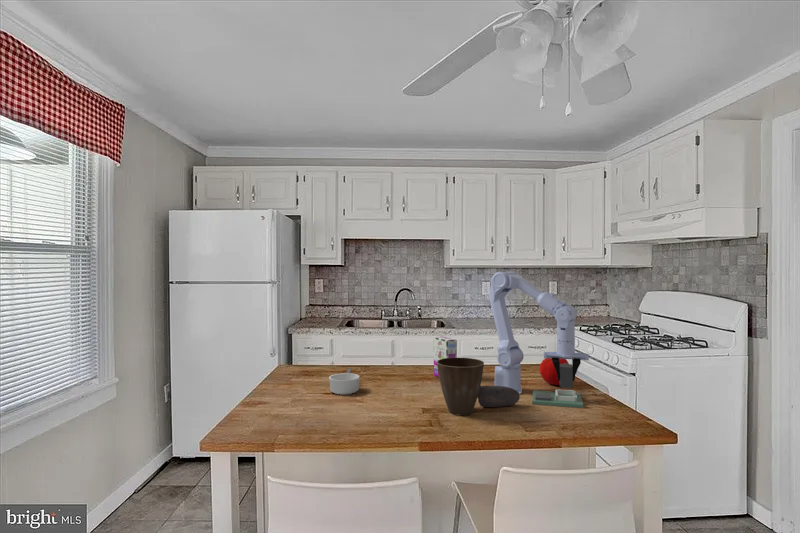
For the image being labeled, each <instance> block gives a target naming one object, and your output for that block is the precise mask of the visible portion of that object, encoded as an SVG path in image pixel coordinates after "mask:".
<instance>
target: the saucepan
mask: <svg viewBox="0 0 800 533" xmlns="http://www.w3.org/2000/svg"><path fill="white" fill-rule="evenodd" d="M352 369H353V368H352V367H349V368H348V369H347V371H346V372H344V373H335V374H331V375H330V376H328V379H329V390H330V392H332V393H334V394H335V395H339V394H340V395H341V396H342V395H343V396H344V395H345V396H346V395H352V393H353V394H354V393H356V392H358V391H359V390H360V377H361V376H360V374H356V373H351V372H352ZM340 395H339V396H340Z"/></svg>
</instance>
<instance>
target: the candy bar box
mask: <svg viewBox="0 0 800 533" xmlns="http://www.w3.org/2000/svg"><path fill="white" fill-rule="evenodd" d="M457 344H458V341H457V339H454V338H450V337H446V336H433V376H434V377H436V378H439V373H438V367H437V361H438V360H440V359H445V358H458V356H457V355H458V354H457V353H458V352H457V351H458V350H457V349H458V348H457V347H458V345H457Z"/></svg>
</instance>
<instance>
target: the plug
mask: <svg viewBox="0 0 800 533" xmlns="http://www.w3.org/2000/svg"><path fill="white" fill-rule="evenodd" d="M573 385H574V381H573V367H572V363H571V364H570V363H569V364H567V363H564V364H560V385H559V388H562V389H563V388H564V389H566V388H567V389H573V387H574V386H573Z"/></svg>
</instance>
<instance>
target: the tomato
mask: <svg viewBox="0 0 800 533" xmlns="http://www.w3.org/2000/svg"><path fill="white" fill-rule="evenodd" d="M559 362H560V364H564V363H567V364H570V362H569V361H568V359H559ZM539 373H540V376H541V378H542V379H543V380H544V382H546V383H548V384H550V385H554V386H560V380H558V376H557V372H556V369H555V367H554V364H553V362H552V358H547V359H545V358H543V359H542V361H541V362H540V365H539Z"/></svg>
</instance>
